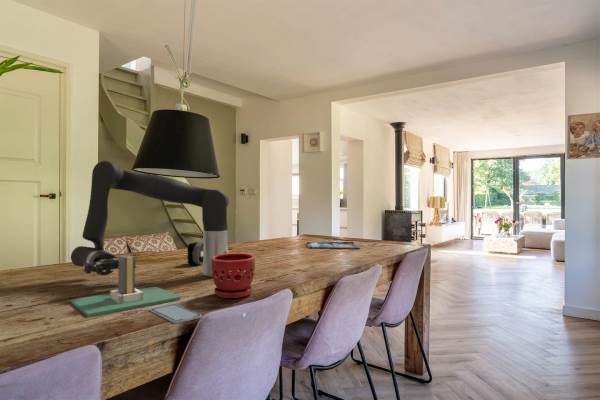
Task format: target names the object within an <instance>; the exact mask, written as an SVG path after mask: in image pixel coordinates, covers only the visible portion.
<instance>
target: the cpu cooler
mask: <svg viewBox="0 0 600 400" xmlns="http://www.w3.org/2000/svg"><path fill="white" fill-rule="evenodd" d="M186 252H187V264H188V265H189V266H190V265H195V266H202V265H203V241H195V242H191V243H188V246H187V251H186Z"/></svg>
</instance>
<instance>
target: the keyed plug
mask: <svg viewBox="0 0 600 400" xmlns="http://www.w3.org/2000/svg"><path fill="white" fill-rule="evenodd" d="M117 259H118V270H117V271H118V272H117V273H118V276H117V277H118V279H117V280H118V283H117V284H118V286H117V287H118V288H117V290H118V293H120V294H131V293H135V288H136V287H135V286H136V285H135V279H136V276H135V275H136V273H135V272H136V268H135V266H136V262H135V260H136V257H135V256H134V255H130V254H125V255H118V258H117Z"/></svg>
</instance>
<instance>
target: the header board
mask: <svg viewBox="0 0 600 400" xmlns="http://www.w3.org/2000/svg"><path fill="white" fill-rule="evenodd" d="M175 301H181V296H179V295H176V294H175V293H172V292H169V291H167V290H164V289H163V288H160V287H158V286H150V287H144V288H138V289H137V288H136V287H135V293H131V294H120V293H118V289H114V290H113V289H112V290H109V293H105V294H104V293H103V294H98V295H91V296H86V297H79V298H74V299H71V300H70V303H71V304H72V305H73V306H74V308H75V307H76V308H77V309H78V310H79V312H81V313H82V314H83V315H85V316H86V317H87V318H91V317H96V316H102V315H107V314H113V313H117V312H123V311H128V310H133V309H139V308H143V307H149V306H154V305H159V304H164V303H169V302H175Z"/></svg>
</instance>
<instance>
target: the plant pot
mask: <svg viewBox="0 0 600 400" xmlns="http://www.w3.org/2000/svg"><path fill="white" fill-rule="evenodd" d="M255 259H256V258H255V255H254V254H250V253H245V252H244V253H242V252H240V253H239V252H235V253H233V252H232V253H228V254H221V255H216V256H214V257H212V259H211V268H212V275H213V276H212V280H213V283H214V285H215V287H214V290H213V291H214V294H215V295H216V296H218V297H220V298H225V299H239V298H244V297H247V296H248V295H250V294H251V293H252V292H253V289H254V287H253V286H251V285H252V283H253V279H254V278H255V277H254V275H255V267H256V265H255V264H256V261H255Z"/></svg>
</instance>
